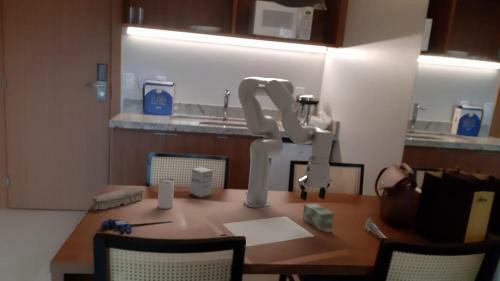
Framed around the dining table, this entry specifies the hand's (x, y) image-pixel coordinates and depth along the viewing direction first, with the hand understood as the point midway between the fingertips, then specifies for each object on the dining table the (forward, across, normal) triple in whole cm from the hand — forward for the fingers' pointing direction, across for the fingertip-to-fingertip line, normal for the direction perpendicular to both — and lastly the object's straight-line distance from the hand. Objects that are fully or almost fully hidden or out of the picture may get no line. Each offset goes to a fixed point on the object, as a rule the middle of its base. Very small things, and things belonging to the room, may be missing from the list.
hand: (312, 198), depth 158 cm
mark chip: (+13, -39, -1) cm, 41 cm away
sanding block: (+11, +2, -4) cm, 12 cm away
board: (+12, -22, -3) cm, 25 cm away
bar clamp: (+14, -64, +16) cm, 68 cm away
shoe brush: (+15, -70, +42) cm, 83 cm away
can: (+14, -52, +34) cm, 64 cm away
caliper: (+10, +20, -22) cm, 31 cm away
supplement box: (+14, -31, +46) cm, 57 cm away
